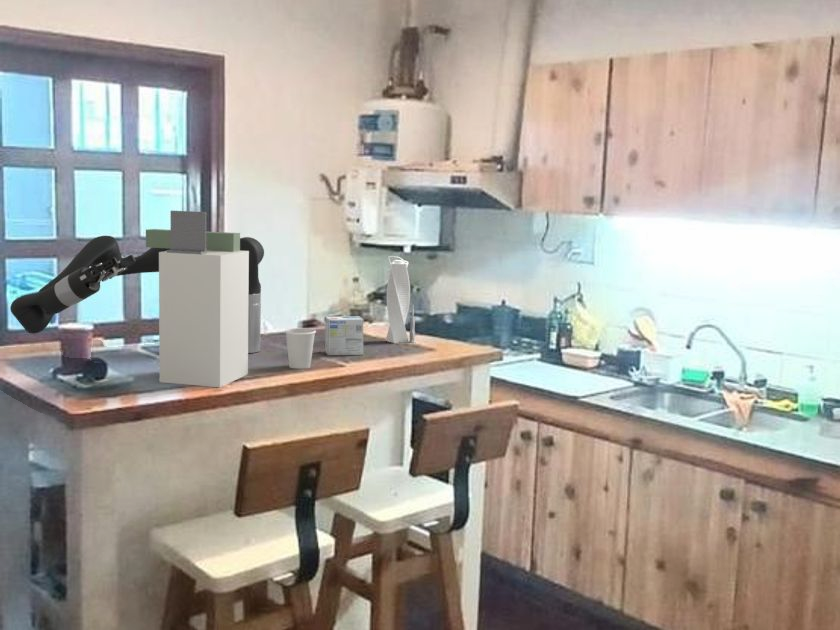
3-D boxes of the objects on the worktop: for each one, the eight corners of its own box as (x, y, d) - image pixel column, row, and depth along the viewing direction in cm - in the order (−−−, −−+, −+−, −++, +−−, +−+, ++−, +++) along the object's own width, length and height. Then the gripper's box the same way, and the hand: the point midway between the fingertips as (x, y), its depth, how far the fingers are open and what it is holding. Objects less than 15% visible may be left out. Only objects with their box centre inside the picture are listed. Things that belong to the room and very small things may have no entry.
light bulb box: (359, 351, 285) (360, 315, 283) (363, 355, 278) (364, 318, 277) (323, 351, 282) (324, 315, 281) (327, 355, 276) (328, 319, 274)
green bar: (153, 246, 246) (152, 228, 246) (239, 250, 241) (240, 233, 240) (145, 247, 242) (145, 229, 242) (233, 251, 237) (233, 233, 237)
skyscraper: (394, 345, 298) (396, 256, 294) (379, 341, 304) (382, 254, 300) (415, 343, 303) (418, 256, 299) (401, 339, 309) (403, 254, 305)
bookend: (172, 251, 231) (172, 210, 230) (206, 253, 229) (206, 212, 228) (166, 252, 228) (166, 210, 227) (201, 254, 226) (201, 212, 225)
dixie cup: (285, 369, 253) (285, 332, 252) (283, 363, 261) (284, 327, 260) (316, 369, 255) (317, 332, 254) (313, 363, 263) (314, 328, 262)
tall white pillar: (190, 369, 249) (190, 248, 245) (247, 374, 246) (248, 250, 242) (159, 382, 233) (158, 252, 229) (220, 387, 230) (220, 255, 225)
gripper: (54, 276, 244) (103, 247, 239) (85, 271, 257) (132, 244, 253) (68, 302, 244) (117, 274, 240) (98, 296, 257) (145, 269, 253)
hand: (125, 259), depth 246 cm, fingers open, 8 cm apart
